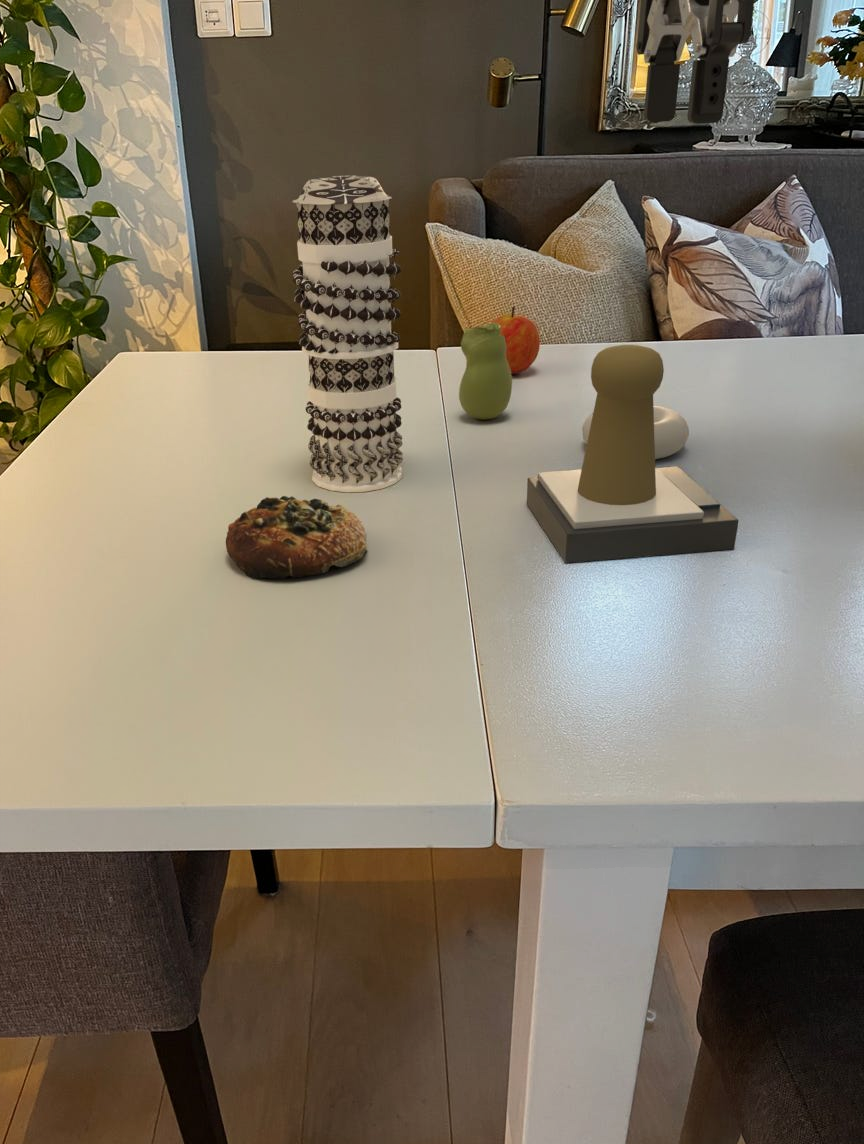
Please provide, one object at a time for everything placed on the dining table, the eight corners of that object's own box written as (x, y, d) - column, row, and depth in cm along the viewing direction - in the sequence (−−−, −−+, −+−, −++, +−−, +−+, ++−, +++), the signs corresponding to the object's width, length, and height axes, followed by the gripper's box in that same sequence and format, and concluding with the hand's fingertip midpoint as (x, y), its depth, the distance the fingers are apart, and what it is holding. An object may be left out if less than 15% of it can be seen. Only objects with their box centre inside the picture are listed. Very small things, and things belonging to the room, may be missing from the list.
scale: (674, 492, 82) (678, 459, 80) (734, 549, 71) (740, 512, 70) (526, 504, 81) (527, 470, 79) (565, 563, 70) (567, 526, 69)
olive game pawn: (650, 508, 71) (666, 359, 66) (570, 500, 73) (579, 355, 68) (661, 481, 76) (677, 340, 70) (585, 474, 78) (595, 336, 73)
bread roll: (207, 578, 70) (203, 511, 68) (248, 537, 80) (246, 478, 78) (356, 588, 68) (357, 520, 67) (379, 545, 79) (380, 485, 77)
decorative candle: (426, 468, 89) (421, 173, 77) (369, 500, 83) (354, 183, 70) (347, 453, 94) (331, 172, 82) (288, 483, 87) (260, 182, 75)
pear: (480, 429, 99) (482, 330, 94) (448, 418, 103) (448, 322, 98) (520, 418, 102) (523, 322, 97) (487, 408, 106) (488, 314, 101)
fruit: (476, 368, 121) (476, 302, 117) (528, 364, 122) (531, 298, 118) (491, 382, 115) (492, 313, 111) (546, 377, 116) (549, 309, 112)
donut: (587, 431, 98) (574, 461, 89) (589, 397, 96) (576, 425, 88) (688, 436, 95) (685, 468, 87) (692, 402, 93) (689, 431, 85)
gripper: (823, -200, 55) (776, 122, 63) (720, -144, 67) (691, 118, 75) (696, -197, 54) (665, 127, 62) (616, -142, 66) (598, 123, 74)
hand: (680, 122), depth 69 cm, fingers open, 8 cm apart
